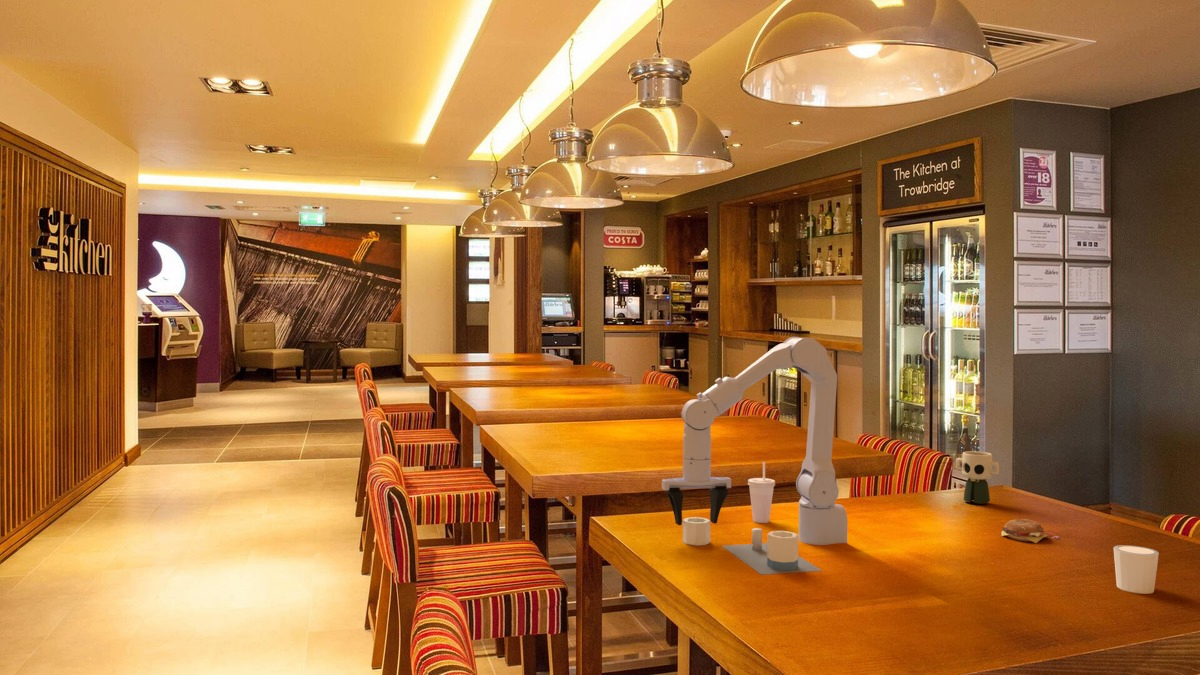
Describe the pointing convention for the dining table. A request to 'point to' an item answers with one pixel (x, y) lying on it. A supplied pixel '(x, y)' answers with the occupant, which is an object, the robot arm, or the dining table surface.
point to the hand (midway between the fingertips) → (696, 523)
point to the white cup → (1135, 568)
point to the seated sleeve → (782, 550)
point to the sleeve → (696, 531)
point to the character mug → (977, 474)
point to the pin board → (763, 556)
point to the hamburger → (1025, 530)
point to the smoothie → (761, 497)
